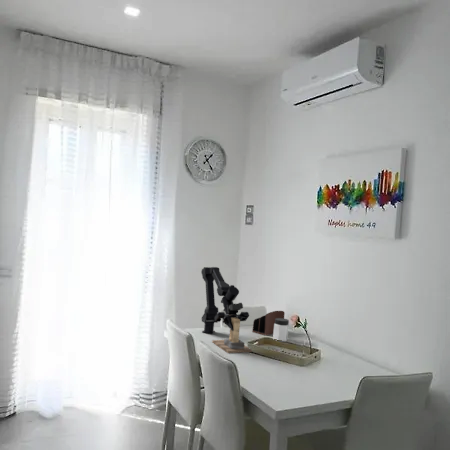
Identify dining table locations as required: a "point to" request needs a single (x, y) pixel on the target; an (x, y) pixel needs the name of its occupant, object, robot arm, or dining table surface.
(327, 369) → the dining table surface
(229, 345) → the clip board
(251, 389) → the dining table surface
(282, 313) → the letter holder
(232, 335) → the tan wooden block
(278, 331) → the jar
